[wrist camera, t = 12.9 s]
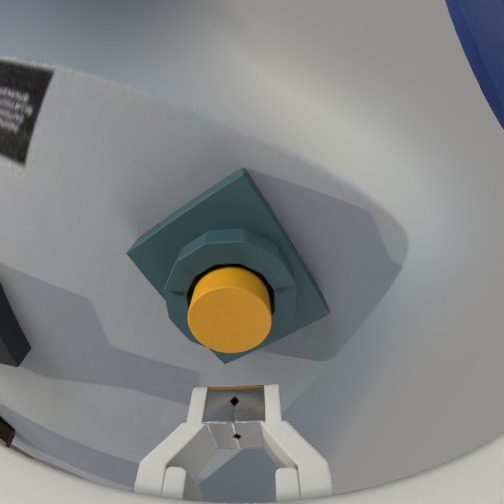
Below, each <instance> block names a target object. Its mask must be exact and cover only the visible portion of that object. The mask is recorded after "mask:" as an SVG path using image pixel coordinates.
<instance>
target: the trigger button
mask: <svg viewBox="0 0 504 504" xmlns="http://www.w3.org/2000/svg"><path fill="white" fill-rule="evenodd" d="M188 325H189V328H190V330H191V332H192V334H193V335H194V337H195V338H196V339H197V340H198V341H199V342H200V343H202V344H203V345H204V346H206V347H208V348H210V349H212V350H215V351H219V352H224V353H239V352H244V351H247V350H250V349H252V348H254V347H256V346H257V345H259V344H260V343H261V342H262V341H263V340H264V339H265V338H266V337H267V335H268V333H269V331H270V329H271V325H272V315H271V308H270V301H269V294H268V290H267V288H266V286H265V284H264V283H263V281H262V280H261V279H260V278H259V277H258V276H257V275H255V274H254V273H252V272H250V271H248V270H246V269H243V268H239V267H221V268H217V269H214V270H212V271H210V272H208V273H207V274H205V275H204V276H203V277H202V278H201V279H200V280H199V281H198V283H197V284H196V286H195V289H194V292H193V296H192V300H191V303H190V307H189V311H188Z"/></svg>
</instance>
